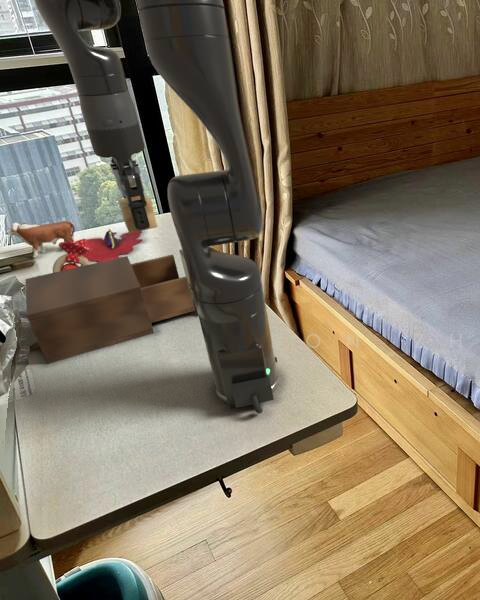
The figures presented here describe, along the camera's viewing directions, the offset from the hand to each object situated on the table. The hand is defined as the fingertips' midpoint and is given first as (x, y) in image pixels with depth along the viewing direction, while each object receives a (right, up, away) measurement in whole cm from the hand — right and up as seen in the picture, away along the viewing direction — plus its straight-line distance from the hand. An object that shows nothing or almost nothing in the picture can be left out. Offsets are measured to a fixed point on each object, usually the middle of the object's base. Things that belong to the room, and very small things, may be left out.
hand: (140, 223), depth 94 cm
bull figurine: (-38, -2, +34) cm, 51 cm away
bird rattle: (-20, -11, +19) cm, 30 cm away
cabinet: (-10, -18, +5) cm, 22 cm away
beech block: (0, 0, 0) cm, 1 cm away
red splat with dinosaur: (-24, -1, +36) cm, 43 cm away
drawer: (+2, -14, +11) cm, 18 cm away
